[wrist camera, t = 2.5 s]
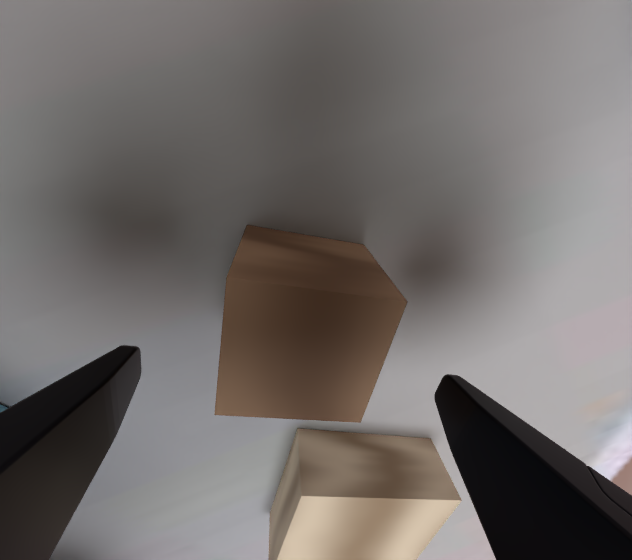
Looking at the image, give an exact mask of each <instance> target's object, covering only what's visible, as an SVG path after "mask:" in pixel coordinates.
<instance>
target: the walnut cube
mask: <svg viewBox="0 0 632 560" xmlns="http://www.w3.org/2000/svg"><path fill="white" fill-rule="evenodd" d="M406 304H407V301H406V299H405V298H404V297H403V295H402V294H401V293H400V291H399V290H398V289H397V287H396V286H395V285H394V284H393V282H392V281H391V280H390V278H389V277H388V276H387V274H386V273H385V272H384V270H383V269H382V268H381V267H380V265H379V264H378V263H377V261H376V260H375V259H374V257H373V256H372V255H371V253H370V252H369V251H368V249H367V248H366V247H365V246H364V245H363V244H357V243H351V242H345V241H339V240H333V239H327V238H322V237H316V236H310V235H304V234H298V233H292V232H286V231H280V230H275V229H269V228H263V227H257V226H251V225H247V226H246V229H245V231H244V234H243V237H242V239H241V242H240V244H239V247H238V249H237V252H236V254H235V257H234V259H233V262H232V265H231V267H230V270H229V272H228V275H227V278H226V289H225V301H224V312H223V324H222V335H221V347H220V358H219V370H218V381H217V393H216V404H215V415H226V416H245V417H264V418H283V419H302V420H321V421H341V422H360V423H361V420H362V417H363V415H364V412H365V410H366V407H367V405H368V402H369V399H370V397H371V394H372V392H373V389H374V387H375V384H376V381H377V379H378V376H379V374H380V371H381V369H382V366H383V363H384V361H385V358H386V356H387V353H388V351H389V348H390V345H391V343H392V340H393V338H394V335H395V333H396V330H397V327H398V325H399V322H400V320H401V317H402V315H403V312H404V309H405V307H406Z"/></svg>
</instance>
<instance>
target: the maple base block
mask: <svg viewBox="0 0 632 560" xmlns="http://www.w3.org/2000/svg"><path fill="white" fill-rule="evenodd" d="M461 501H462V500H461V498H460V496H459V494H458V492H457V490H456V488H455V486H454V484H453V482H452V480H451V478H450V476H449V474H448V472H447V470H446V468H445V466H444V464H443V462H442V460H441V458H440V456H439V454H438V452H437V450H436V448H435V446H434V444H433V442H432V440H431V439H429V438H416V437H403V436H390V435H377V434H364V433H351V432H338V431H325V430H312V429H299V428H297V431H296V435H295V438H294V441H293V444H292V447H291V450H290V453H289V456H288V459H287V462H286V465H285V468H284V471H283V474H282V477H281V481H280V484H279V487H278V490H277V493H276V496H275V499H274V502H273V505H272V508H271V511H270V528H269V560H416V559H417V558H418V557H419V555H420V554H421V553H422V552H423V550H424V549H425V548H426V546H427V545H428V544H429V542H430V541H431V540H432V539H433V537H434V536H435V535H436V533H437V532H438V531H439V529H440V528H441V527H442V526H443V524H444V523H445V522H446V520H447V519H448V518H449V516H450V515H451V514H452V513H453V511H454V510H455V509H456V507H457V506H458V505H459V503H460V502H461Z"/></svg>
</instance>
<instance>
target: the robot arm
mask: <svg viewBox="0 0 632 560" xmlns="http://www.w3.org/2000/svg"><path fill="white" fill-rule="evenodd" d="M140 376H141V353H140V349H139V347H137V346H127V345H122V346H119V347H117V348H116V349H114V350H112V351H110V352H108V353H107V354H105V355H103V356H101V357H99V358H98V359H96V360H94V361H92V362H90V363H89V364H87V365H85V366H83V367H81V368H80V369H78V370H76V371H74V372H72V373H71V374H69V375H67V376H65V377H63V378H62V379H60V380H58V381H56V382H54V383H53V384H51V385H49V386H47V387H45V388H44V389H42V390H40V391H38V392H36V393H35V394H33V395H31V396H29V397H27V398H26V399H24V400H22V401H20V402H18V403H17V404H15V405H13V406H11V407H9V408H8V409H6V410H4V411H2V412H0V560H49V558H50V556H51V554H52V552H53V551H54V549H55V547H56V545H57V543H58V541H59V540H60V538H61V536H62V534H63V532H64V530H65V529H66V527H67V525H68V523H69V521H70V520H71V518H72V516H73V514H74V512H75V510H76V509H77V507H78V505H79V503H80V501H81V499H82V498H83V496H84V494H85V492H86V490H87V488H88V487H89V485H90V483H91V481H92V479H93V477H94V476H95V474H96V472H97V470H98V468H99V466H100V465H101V463H102V461H103V459H104V457H105V455H106V454H107V452H108V450H109V448H110V446H111V444H112V442H113V440H114V439H115V437H116V434H117V432H118V430H119V428H120V425H121V423H122V420H123V418H124V416H125V413H126V411H127V408H128V406H129V404H130V401H131V399H132V396H133V394H134V392H135V389H136V387H137V384H138V382H139V379H140ZM435 402H436V406H437V409H438V412H439V415H440V418H441V421H442V425H443V428H444V431H445V434H446V437H447V440H448V443H449V446H450V449H451V452H452V454H453V457H454V459H455V462H456V464H457V466H458V469H459V471H460V474H461V476H462V479H463V481H464V483H465V486H466V488H467V491H468V493H469V495H470V498H471V500H472V503H473V505H474V507H475V510H476V512H477V515H478V517H479V519H480V522H481V524H482V527H483V529H484V531H485V534H486V536H487V539H488V541H489V543H490V546H491V548H492V551H493V553H494V556H495V558H496V560H632V495H630V494H628V493H627V492H625V491H624V490H623V489H621V488H620V487H618V486H617V485H615V484H614V483H612V482H611V481H610V480H608V479H607V478H605V477H604V476H602V475H601V474H599V473H598V472H597V471H595V470H594V469H592V468H591V467H589V466H586V464H585V463H584V462H582V461H581V460H579V459H578V458H576V457H575V456H573V455H572V454H571V453H569V452H568V451H566V450H565V449H563V448H562V447H560V446H559V445H558V444H556V443H555V442H553V441H552V440H550V439H549V438H548V437H546V436H545V435H543V434H542V433H540V432H539V431H537V430H536V429H535V428H533V427H532V426H530V425H529V424H527V423H526V422H525V421H523V420H522V419H520V418H519V417H517V416H516V415H515V414H513V413H512V412H510V411H509V410H507V409H506V408H504V407H503V406H502V405H500V404H499V403H497V402H496V401H494V400H493V399H492V398H490V397H489V396H487V395H486V394H484V393H483V392H481V391H480V390H479V389H477V388H476V387H474V386H473V385H471V384H470V383H469V382H467V381H466V380H464V379H463V378H461V377H460V376H457V375H449V374H448V375H445V376H444V377H443V378H442V380H441V382H440V384H439V386H438V388H437V390H436V392H435Z"/></svg>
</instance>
